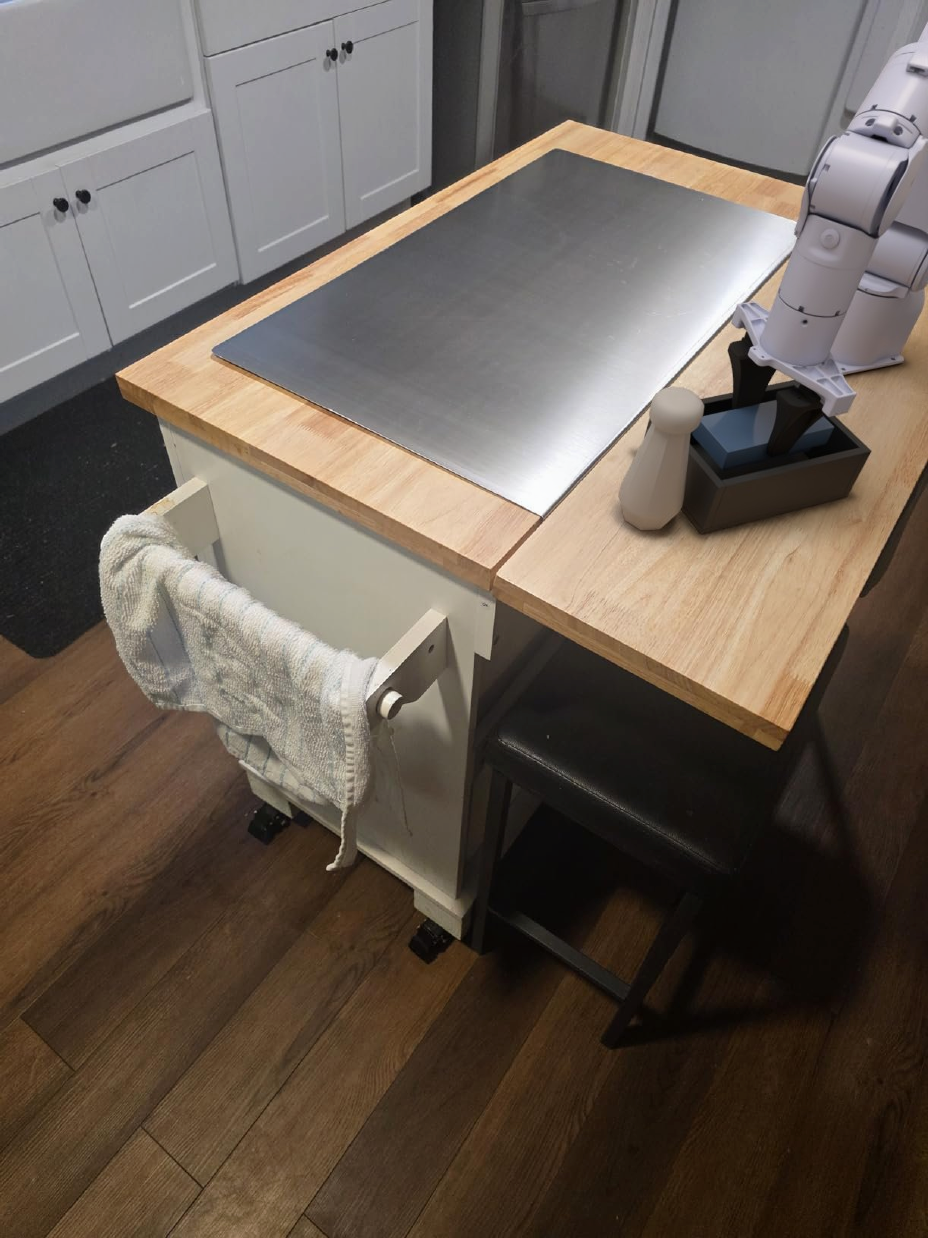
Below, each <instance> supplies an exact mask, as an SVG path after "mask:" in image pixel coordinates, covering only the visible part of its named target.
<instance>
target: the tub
mask: <svg viewBox="0 0 928 1238" xmlns="http://www.w3.org/2000/svg"><path fill="white" fill-rule="evenodd" d="M799 385H800V383H799V382H797V381H796V380H794V379H791V380H787V381H781V382H777V383H772V384H768V386H767V388H766V391H765V393H764V395H763V398H762V400H761V402H760V404H761V403H765V402H770V401H774V400H776V394H777V392H778V391H783V390H788V389H792V388H799ZM732 398H733V391H732V392H728V393H722V394H718V395H713V396H708V397H704V398H703V397H702V398H700V399H701V400H702V402H703V404H704V412H703V416H707V415H711V414H716V413H720V412H725V411H729V410H732ZM703 416H702V417H703ZM823 417H824V418H825V419H827V420H828V421H829V422H830V423H831V424H832V425H833V426H834V429H833V431H832V433H831V435H830V437H829V439H828V441H827V444H824V445H820V446H816V447H812V448H811V449H810V451H806V452H802V453H798V454H794V455H790V456H785V457H781V458H777V459H773V460H769V461H765V462H761V463H757V464H753V465H749V466H745V467H741V468H737V469H732V470H728V471H724V470H723V469H721V468H720V467H719V466H718V464H717V463H716V462H715V461H714V460H713V459H712V457H711V456H710V455H709V454H708V453H707V452H706V450H705V449H704V448H703V447H702V446H701V445H700V444H699V442H698V441H697V440H696V439H695V438H694V437H693V435H692V433H693V431H692V432H691V433H690V443H689V453H688V463H687V473H686V483H685V493H684V500H683V504H682V508H681V511H682V512H683V514H684V515H685V516H686V517H687V519H688V520H689V521H690V523H691V524H692V525H693V526H694V527H695V528H696V530H697V531H698V532H699V533H700V535H705V534H708V533H711V532H715V531H716V532H717V531H719V530H723V529H728V528H731V527H735V526H739V525H742V524H747V523H750V522H755V521H759V520H762V519H765V518H770V517H775V516H778V515H783V514H785V513H789V512H793V511H797V510H801V509H805V508H809V507H813V506H817V505H820V504H824V503H828V502H832V501H836V500H837V501H838V500H841V499H845V498H847V497H848V496H849V494H850V493H851V491H852V489H853V488H854V485H855V483H856V481H857V480H858V478H859V476H860V474H861V472H862V471H863V468H864V466H865V465H866V463H867V461H868V459H869V457H870V455H871V454H872V452H873V451H872V450H871V449H870V448H869V447H868V446H867V445H866V444H865V443H864V441H862V440H861V439H860V438H859V437H858V436H857V435H856V434H854V432H852V430H850V429H849V427H847V426H846V425H845V424H844V423H843V422H842V421H841V420H840V419H839V418H838V417H837V415H836V416H831V417H828V416H827V415H824V416H823ZM651 424H652V422H651V419H650V417H649V418H648V422H647V425H646V429H645V433H644V436H643V439H644V438H645V436H646V434H647V432H648V430H649V428H650V426H651Z"/></svg>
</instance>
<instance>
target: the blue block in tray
mask: <svg viewBox="0 0 928 1238" xmlns="http://www.w3.org/2000/svg"><path fill="white" fill-rule="evenodd" d="M776 410H777V400H774V401H770V402H765V403H761V404H757V405H752V406H748V407H743V408H739V409H734V410H729V411H725V412H720V413H716V414H711V415H707V416H703V417H702V420H701V422H700V424H699V426H698V427H697V428H696V429H695V430H694V431H693V433H692V435H693V437H694V438H695V439H696V440H697V441H698V442H699V444H700V445H701V446H702V447H703V448H704V449H705V450H706V452H707V453H708V454H709V455H710V456H711V457H712V459H713V460H714V461H715V462H716V463H717V464H718V466H719V467H720V468H721V469H723V470H724V471H728V470H732V469H737V468H741V467H745V466H749V465H753V464H757V463H761V462H765V461H769V460H773V459H777V458H781V457H785V456H790V455H794V454H798V453H802V452H806V451H810V449H811V448H812V447H816V446H820V445H824V444H827V441H828V439H829V437H830V435H831V433H832V431H833V429H834V426H833V425H832V424H831V423H830V422H829V421H828V420H827V419H825V418H824V417H822V418H820V419H819V420H818V421H817V422H815V423H814V424H813V425H812V426H811V427H810V428H809V429H808V430H807V431H806V432H805V433H804V434H803V435H802V436H801V437H800V439H799V440H798V441H797V442H796V443H795V445H794V446H793V447H792V448H791V450H790V451H789V452H788V454H784V455H779V456H775V457H769V456H768V454H767V453H766V451H767V445H768V441H769V438H770V435H771V432H772V430H773V427H774V423H775V418H776Z"/></svg>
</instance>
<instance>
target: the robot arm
mask: <svg viewBox="0 0 928 1238" xmlns="http://www.w3.org/2000/svg"><path fill="white" fill-rule="evenodd" d="M793 235H794V236H795V237H796V239H795V242H794V245H793V248H792V251H791V253H790V257H789V259H788V262H787V265H786V267H785V270H784V273H783V275H782V277H781V281H780V284H779V286H778V289H777V292H776V294H775V297H774V299H773V303H772V306H771V308H770V310H769V309H767V308H765V307H763V306H762V305H761V304H759V303H758V302H757V300H753V301H752V300H751V301H748V302H741V303H737V304H736V307H735V310H734V313H733V315H732V319H731V321H730V323H731V325H732V326H733V327H735V328H736V329H738V330H741V329H744V330H745V333H744V336H742V337H741V339H740V340H734V341H731V342H730V343H729V344H728V346H727V347H728V348H727V354H728V357H729V361H730V366H731V373H732V392H733V398H732V410H734V409H739V408H743V407H748V406H752V405H757V404H760V402H761V400H762V398H763V395H764V393H765V391H766V388H767V386H768V385H770V382H771V380H772V379H773V377H774V375H775V374H776V372H777V371H779V372H780V373H782V374H783V375H785V376H787V377H789V378H790V379H791V380H796V381H797V382H799V383H800V385H799V388H792V389H788V390H783V391H778V392H777V394H776V400H777V410H776V418H775V423H774V427H773V430H772V432H771V435H770V438H769V441H768V445H767V451H766V453H767V454H768V456H769V457H775V456H779V455H784V454H788V452H789V451H790V450H791V448H792V447H793V446H794V445H795V443H796V442H797V441H798V440H799V439H800V437H801V436H802V435H803V434H804V433H805V432H806V431H807V430H808V429H809V428H810V427H811V426H812V425H813V424H814V423H815V422H817V421H818V420H819V419H820V418H822V417H823V416H824V415H827V416H828V417H831V416H836V417H837V416H840V415H844V414H848V413H849V411H850V409H851V407H852V405H853V403H854V401H855V398H856V397H857V395H858V394H857V392H856V391H855V390H854V389H853V388H852V387H851V386H850V385H849V383H848V381H847V380H846V378H845V376H844V375H849V374H854V373H859V372H864V371H865V372H866V371H870V370H874V369H878V368H883V367H889V366H895V365H898V364H902V363H904V361H905V357H904V356H902V355H901V353H902V351H903V349H904V347H905V345H906V343H907V341H908V339H909V337H910V335H911V334H912V332H913V329H914V327H915V325H916V324H917V322H918V320H919V318H920V316H921V313H922V312H923V309H924V306H925V300H926V291H925V288H926V287H927V286H928V21H927V22H926V24H925V26H924V28H923V30H922V32H921V33H920V36H919V38H918V40H917V42H916V41H915V42H911V43H908V44H906V45H903V46H902V47H900V48H899V49H897V50H895V52H893V54H892V55H890V57H889V59H888V61H887V62H886V64H885V65H884V67H883V68H882V70H881V72H880V74H879V75H878V77H877V78H876V80H875V82H874V84H873V85H872V86H871V88H870V90H869V92H868V93H867V95H866V97H865V98H864V100H863V101H862V103H861V104H860V106H859V107H858V110H857V111H856V113H855V115H854V116H853V118H852V119H851V121H850V122H849V124H848V126H847V127H846V129H845V131H844V132H843V134H842V135H841V136H837V135H836V134H833V135H831V136H830V137H829V138H828V139H827V141H826V142H825V144H824V145H823V146H822V148H821V150H820V152H819V153H818V155H817V157H816V159H815V161H814V163H813V165H812V167H811V170H810V172H809V174H808V177H807V180H806V183H805V187H804V190H803V193H802V196H801V202H800V212H799V216H798V218H797V221H796V224H795V227H794V230H793Z"/></svg>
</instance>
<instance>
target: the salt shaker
mask: <svg viewBox="0 0 928 1238" xmlns="http://www.w3.org/2000/svg"><path fill="white" fill-rule="evenodd" d="M701 399H702V398H701V397H700V396H699V395H698V394H697V393H695V392H694V391H693V390H691V389H688V388H685V387H683V386H673V385H672V386H669V387H665V388H662V389H660V390H659V391H657V392H656V393H655V394H654V396H653V398H652V400H651V404H650V407H649V411H648V417H649V418H650V419H651V422H652V424H651V426H650V428H649V430H648V432H647V434H646V436H645V435H644V436H645V438H644V437H643V439H642V442H641V443H640V446H639V447H638V449H637V452H636V454H635V455H634V457H633V459H632V461H631V463H630V466H629V468H628V470H627V471H626V473H625V475H624V477H623V479H622V481H621V484H620V487H619V490H618V496H617V497H618V500H619V502H620V505H621V509H622V514H623V518H624V521H625V522H627V523H628V524H630V525H632V526H633V527H634V528H636V529H638V530H639V531H654V530H656V531H657V530H661V529H662V528H663V527H664V526H666V524H668V522H670V521H671V520H672V519H673V518H674V517H675V516H677V515H678V514H679V513H680V511H682V509H681V508H682V504H683V500H684V493H685V483H686V473H687V463H688V453H689V443H690V433H691V432H692V431H694V430H695V429H696V428H697V427H698V426H699V424H700V422H701V420H702V416H703V412H704V404H703V402H702V400H701Z"/></svg>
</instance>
